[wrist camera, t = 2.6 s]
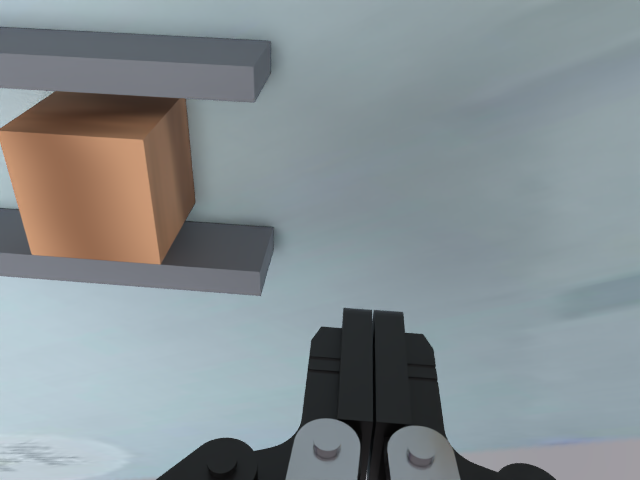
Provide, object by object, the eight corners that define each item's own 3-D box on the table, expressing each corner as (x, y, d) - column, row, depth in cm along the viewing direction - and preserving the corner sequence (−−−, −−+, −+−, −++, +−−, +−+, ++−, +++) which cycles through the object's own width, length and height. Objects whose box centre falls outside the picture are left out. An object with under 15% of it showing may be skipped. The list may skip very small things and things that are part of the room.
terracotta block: (185, 92, 24) (143, 140, 19) (196, 201, 26) (160, 264, 22) (64, 85, 24) (-3, 130, 20) (87, 194, 26) (31, 254, 22)
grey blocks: (270, 40, 22) (253, 66, 19) (273, 249, 27) (260, 295, 24) (-134, 20, 23) (-210, 41, 20) (-59, 225, 28) (-110, 267, 25)
